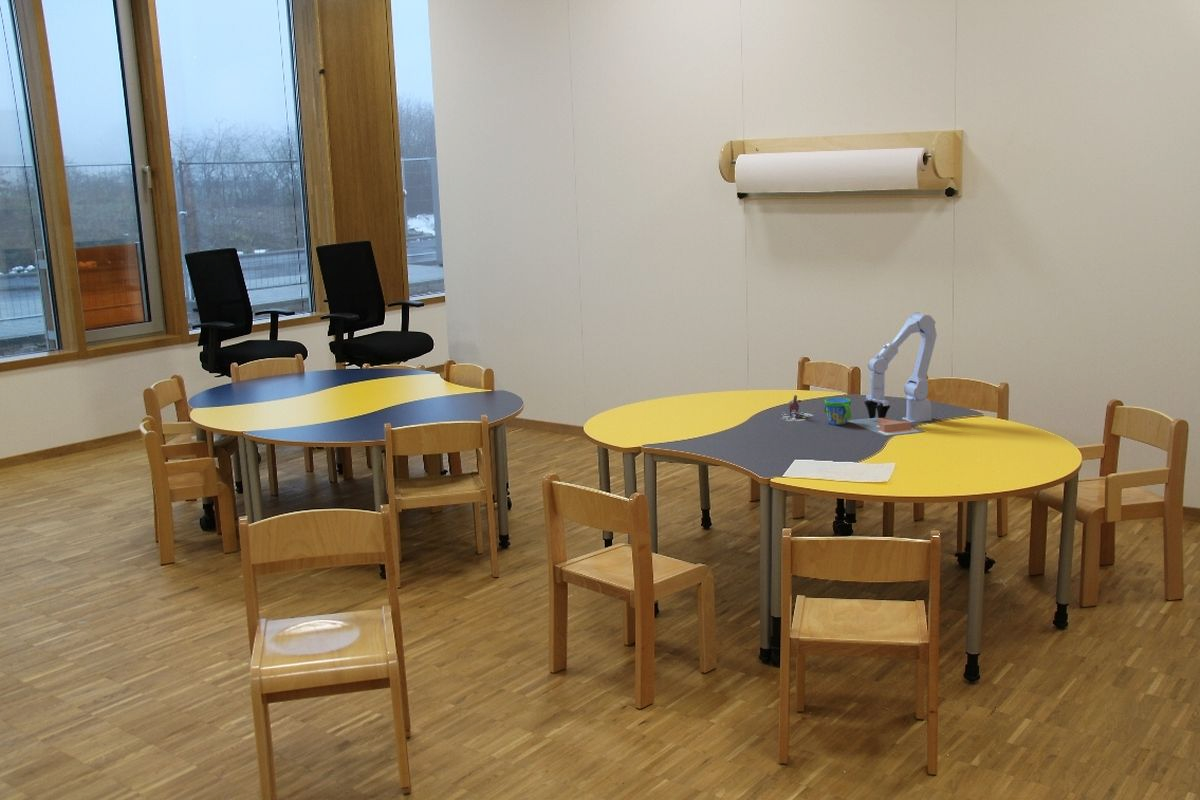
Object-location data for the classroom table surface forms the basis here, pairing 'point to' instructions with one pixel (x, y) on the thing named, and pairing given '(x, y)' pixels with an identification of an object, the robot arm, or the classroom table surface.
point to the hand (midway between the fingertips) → (876, 419)
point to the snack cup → (837, 410)
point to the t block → (893, 425)
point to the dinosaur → (794, 406)
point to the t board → (873, 426)
